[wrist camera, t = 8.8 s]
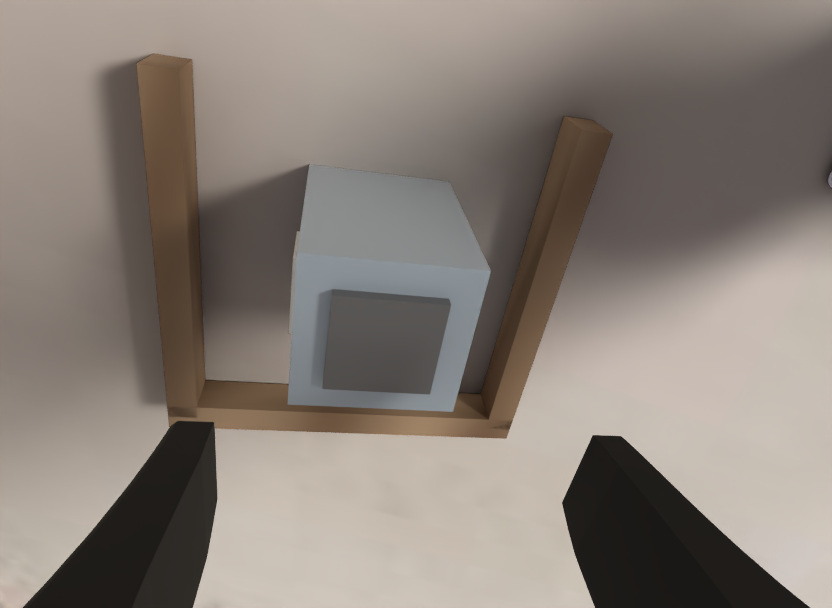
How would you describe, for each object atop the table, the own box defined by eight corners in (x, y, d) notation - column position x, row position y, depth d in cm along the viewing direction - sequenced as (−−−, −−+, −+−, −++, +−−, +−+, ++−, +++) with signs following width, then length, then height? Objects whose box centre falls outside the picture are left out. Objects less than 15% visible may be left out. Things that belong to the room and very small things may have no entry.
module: (449, 181, 18) (494, 277, 13) (425, 297, 20) (454, 419, 15) (304, 163, 17) (288, 258, 12) (296, 287, 20) (280, 412, 14)
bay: (593, 120, 18) (613, 134, 16) (497, 412, 24) (506, 438, 23) (153, 53, 15) (136, 63, 14) (178, 398, 22) (168, 426, 20)
